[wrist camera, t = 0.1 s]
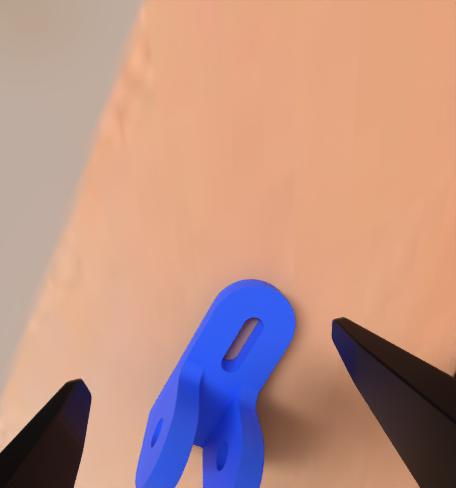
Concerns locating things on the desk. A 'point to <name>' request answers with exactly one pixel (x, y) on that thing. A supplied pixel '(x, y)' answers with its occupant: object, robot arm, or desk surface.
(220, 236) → the desk surface
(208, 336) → the bracket
